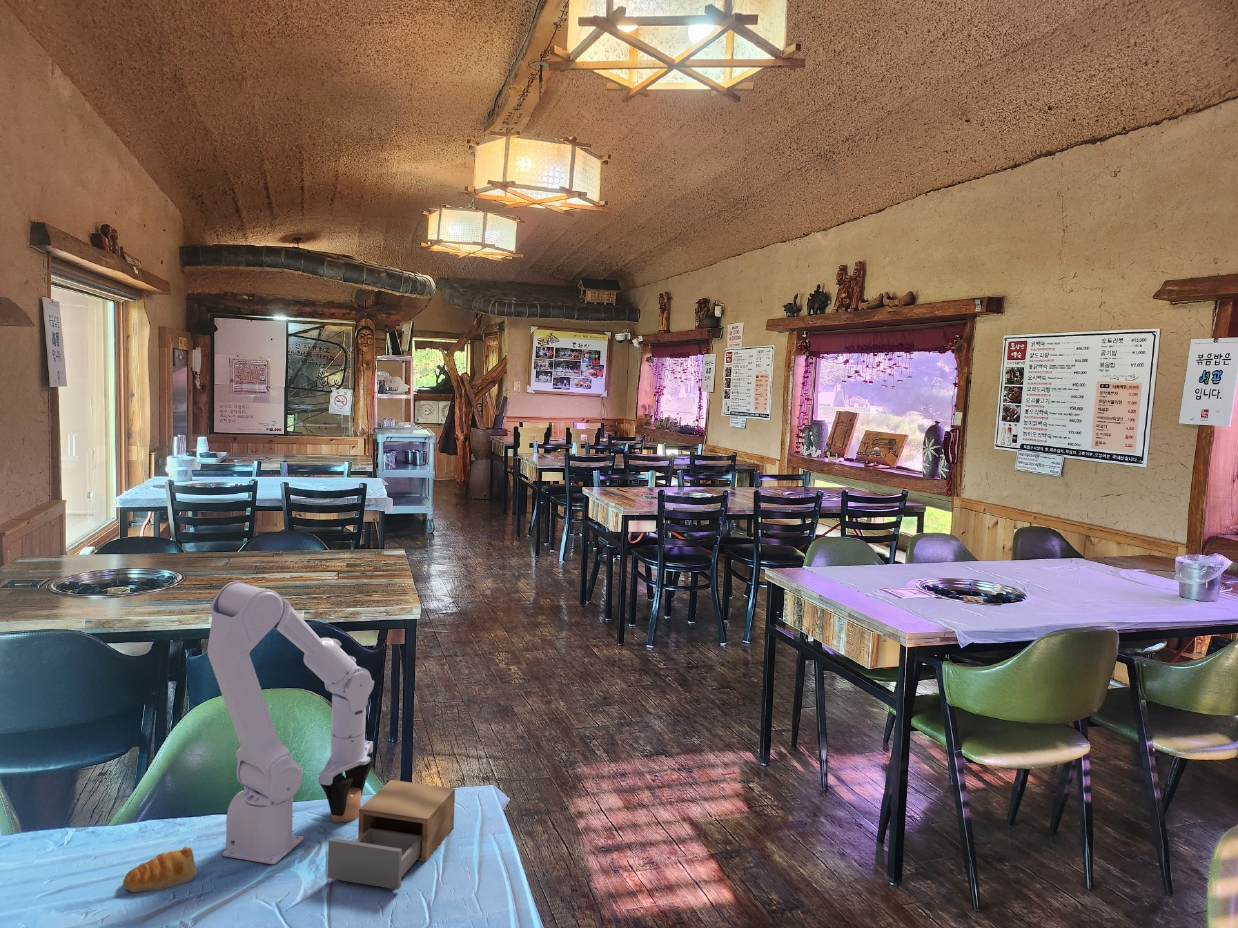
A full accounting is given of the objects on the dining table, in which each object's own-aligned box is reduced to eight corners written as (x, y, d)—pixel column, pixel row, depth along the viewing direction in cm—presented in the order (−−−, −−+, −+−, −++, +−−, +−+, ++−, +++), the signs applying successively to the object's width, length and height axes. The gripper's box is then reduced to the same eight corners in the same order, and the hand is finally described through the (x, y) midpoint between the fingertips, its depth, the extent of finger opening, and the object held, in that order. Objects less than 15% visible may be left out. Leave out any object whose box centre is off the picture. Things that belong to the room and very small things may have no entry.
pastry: (127, 903, 113) (127, 876, 113) (119, 881, 118) (119, 856, 118) (199, 880, 119) (200, 855, 119) (188, 861, 124) (189, 837, 124)
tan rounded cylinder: (325, 819, 138) (325, 797, 138) (340, 806, 143) (341, 784, 143) (351, 823, 137) (351, 801, 137) (365, 810, 142) (366, 788, 142)
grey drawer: (398, 889, 117) (399, 851, 117) (327, 877, 120) (328, 840, 119) (428, 852, 128) (430, 817, 128) (363, 842, 130) (364, 807, 130)
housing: (426, 861, 126) (427, 818, 126) (357, 850, 129) (359, 808, 128) (453, 827, 137) (454, 788, 137) (390, 818, 140) (391, 779, 139)
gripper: (347, 750, 132) (344, 830, 132) (388, 720, 146) (386, 791, 146) (308, 745, 133) (306, 824, 133) (353, 715, 147) (351, 786, 148)
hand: (346, 807), depth 140 cm, fingers closed on tan rounded cylinder, 5 cm apart
